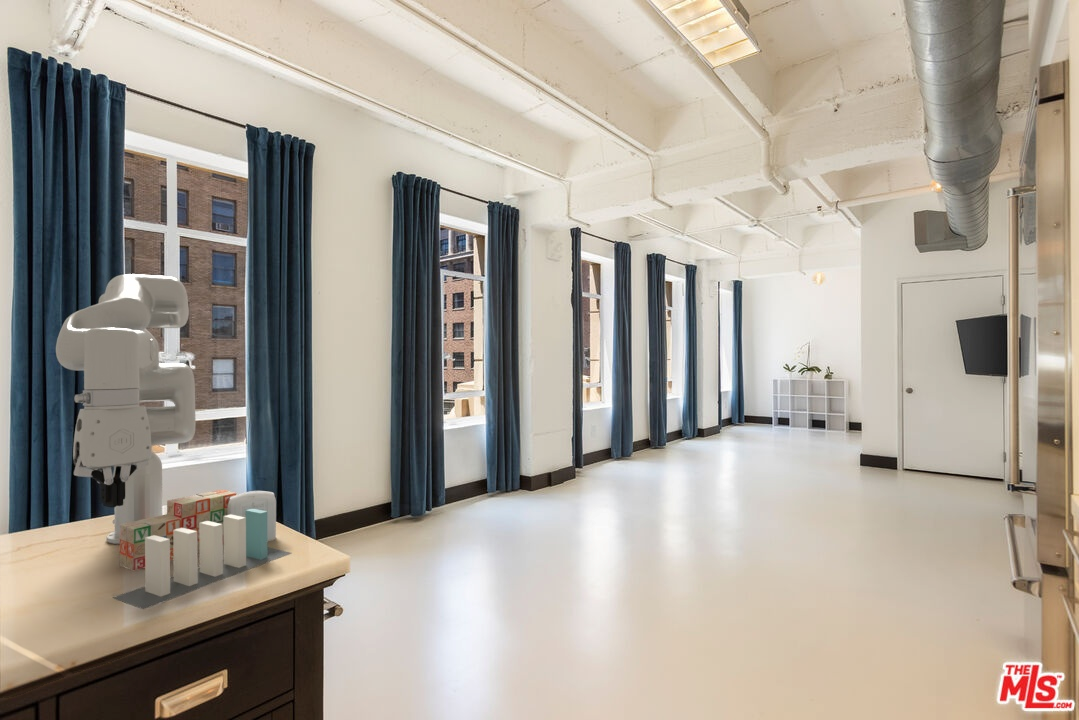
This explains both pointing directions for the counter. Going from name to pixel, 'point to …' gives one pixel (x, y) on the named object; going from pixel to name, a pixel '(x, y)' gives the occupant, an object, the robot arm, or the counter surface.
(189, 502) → the stack of blocks
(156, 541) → the domino
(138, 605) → the domino mat
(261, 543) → the domino
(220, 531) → the domino
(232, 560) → the domino
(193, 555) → the domino
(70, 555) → the counter surface
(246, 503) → the white rounded slab
